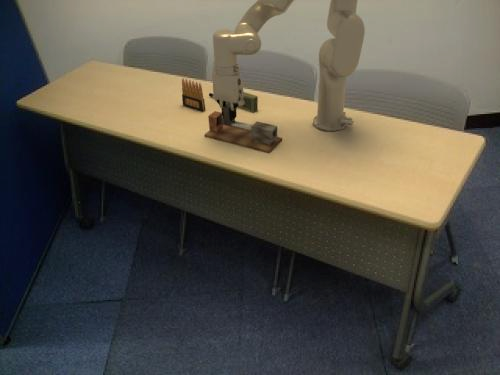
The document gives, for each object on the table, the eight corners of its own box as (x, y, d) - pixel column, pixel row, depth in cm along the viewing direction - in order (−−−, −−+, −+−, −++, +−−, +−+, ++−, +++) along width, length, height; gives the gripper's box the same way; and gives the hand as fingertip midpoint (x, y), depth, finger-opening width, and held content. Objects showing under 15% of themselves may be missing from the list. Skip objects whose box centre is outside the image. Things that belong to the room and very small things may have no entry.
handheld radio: (253, 113, 188) (206, 98, 201) (258, 111, 191) (212, 96, 203) (253, 98, 185) (206, 83, 198) (258, 95, 187) (211, 81, 200)
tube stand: (282, 140, 170) (282, 122, 166) (269, 153, 163) (269, 135, 159) (219, 125, 181) (217, 107, 177) (204, 136, 174) (203, 119, 170)
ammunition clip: (205, 110, 192) (203, 82, 185) (202, 112, 191) (200, 83, 184) (185, 104, 197) (182, 76, 190) (182, 105, 196) (179, 78, 189)
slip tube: (264, 131, 168) (263, 110, 163) (259, 136, 166) (258, 114, 161) (217, 120, 176) (215, 99, 171) (212, 124, 174) (210, 103, 169)
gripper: (252, 68, 159) (254, 118, 170) (212, 61, 166) (215, 109, 176) (241, 76, 154) (243, 127, 164) (200, 68, 160) (204, 118, 171)
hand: (229, 117), depth 170 cm, fingers closed on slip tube, 2 cm apart
